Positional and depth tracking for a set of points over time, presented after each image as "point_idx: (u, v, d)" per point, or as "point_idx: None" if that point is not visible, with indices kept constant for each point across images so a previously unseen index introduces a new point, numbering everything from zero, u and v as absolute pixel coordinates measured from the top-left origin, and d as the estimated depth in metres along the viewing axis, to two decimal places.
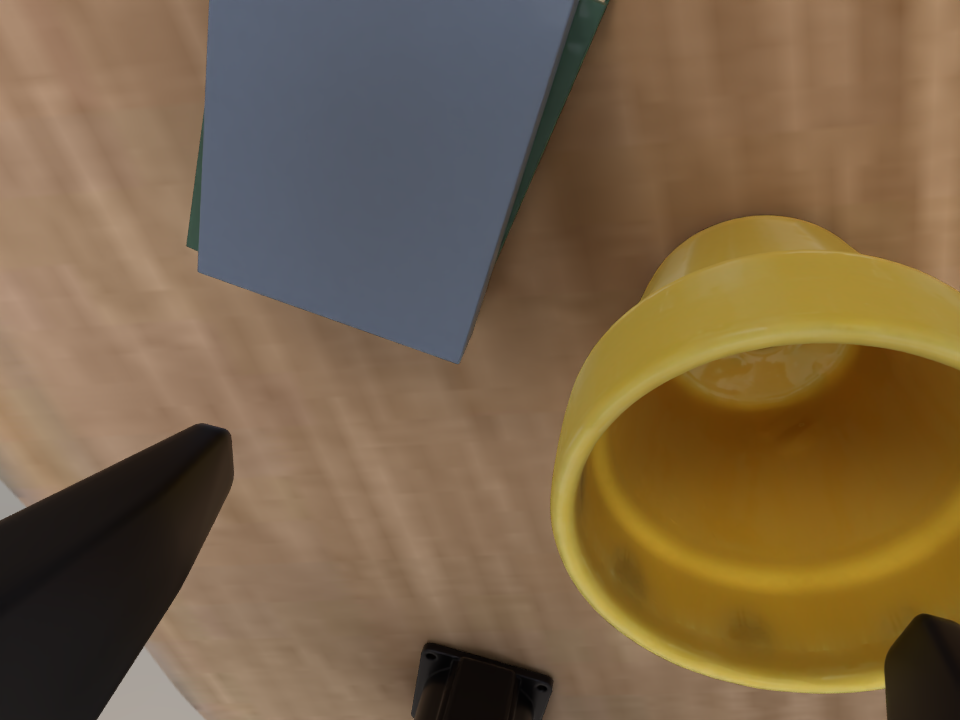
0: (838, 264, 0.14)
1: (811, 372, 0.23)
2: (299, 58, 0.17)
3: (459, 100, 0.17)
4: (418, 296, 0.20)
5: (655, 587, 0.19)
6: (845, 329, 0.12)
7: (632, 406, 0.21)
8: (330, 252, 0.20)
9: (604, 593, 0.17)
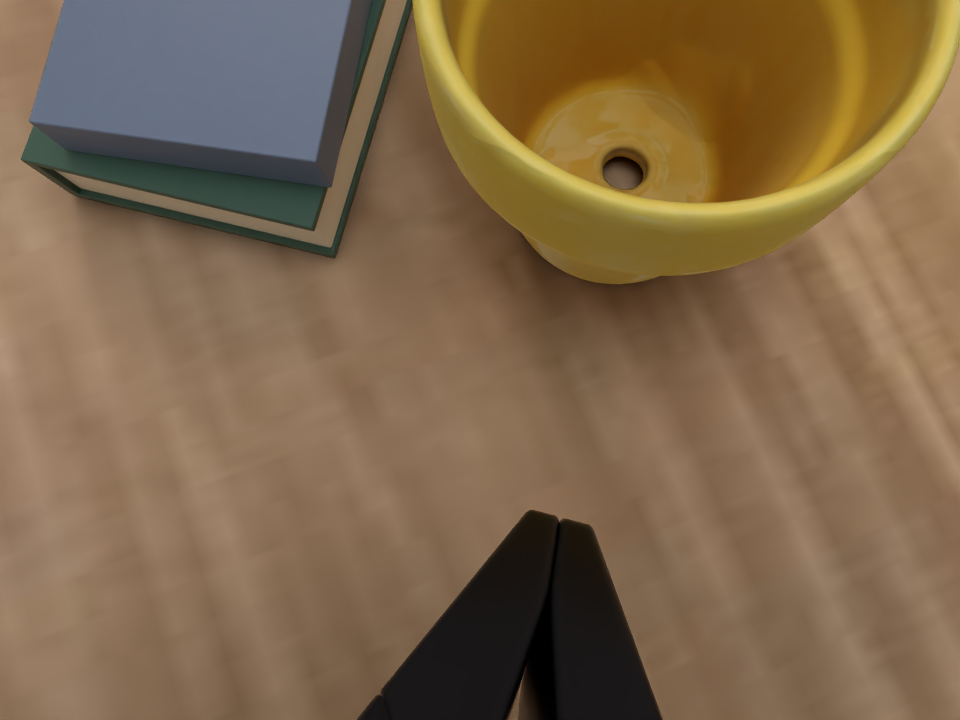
0: None
1: None
2: None
3: None
4: (270, 92, 0.20)
5: None
6: None
7: None
8: (180, 67, 0.20)
9: (502, 128, 0.14)
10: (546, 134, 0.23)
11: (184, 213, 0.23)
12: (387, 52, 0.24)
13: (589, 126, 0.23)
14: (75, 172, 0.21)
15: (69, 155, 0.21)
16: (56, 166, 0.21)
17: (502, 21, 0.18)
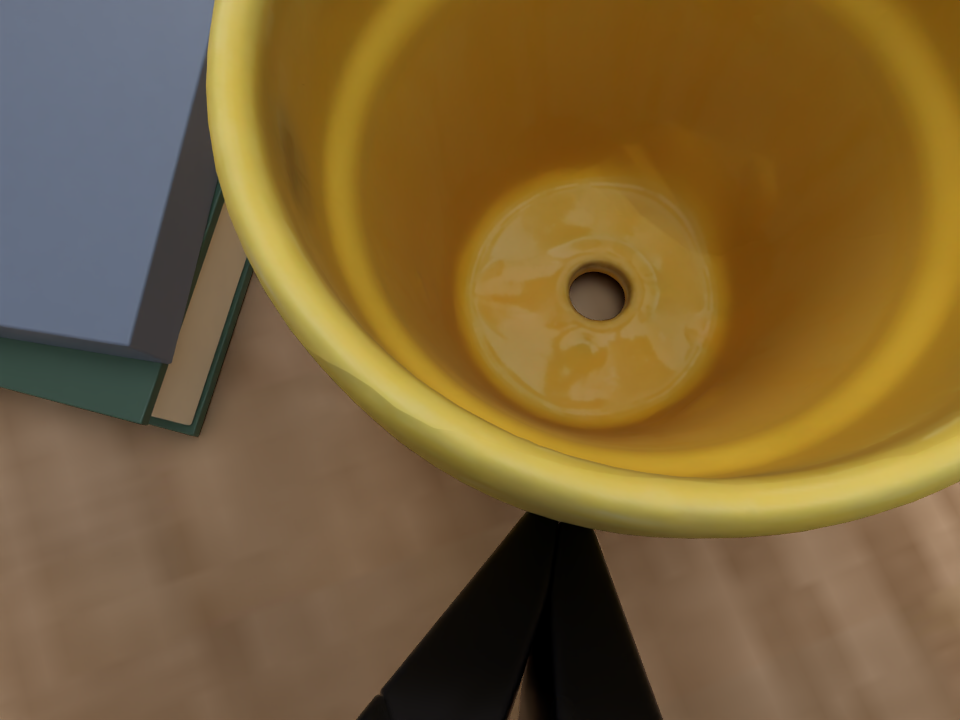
0: None
1: (688, 345, 0.16)
2: None
3: None
4: (68, 240, 0.13)
5: None
6: None
7: (425, 319, 0.13)
8: None
9: (354, 328, 0.07)
10: (492, 243, 0.17)
11: None
12: None
13: (550, 232, 0.17)
14: None
15: None
16: None
17: (409, 103, 0.12)
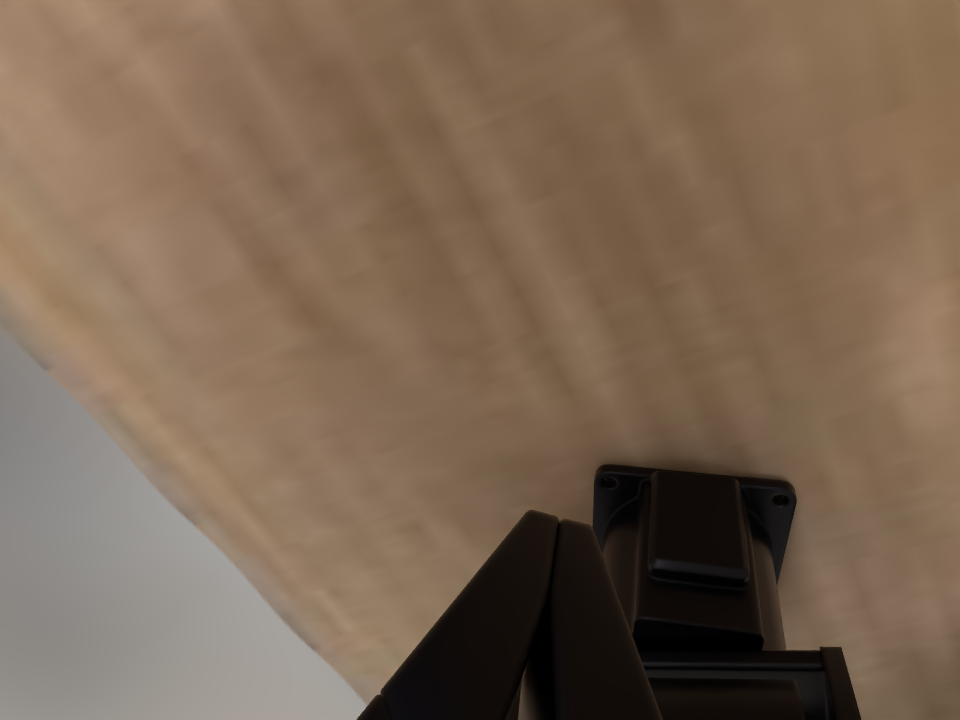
0: None
1: None
2: None
3: None
4: None
5: None
6: None
7: None
8: None
9: None
10: None
11: None
12: None
13: None
14: None
15: None
16: None
17: None
